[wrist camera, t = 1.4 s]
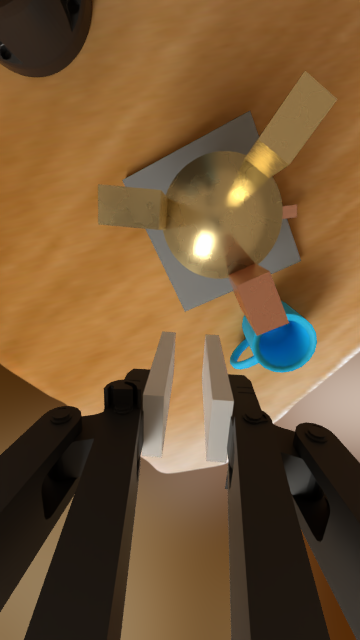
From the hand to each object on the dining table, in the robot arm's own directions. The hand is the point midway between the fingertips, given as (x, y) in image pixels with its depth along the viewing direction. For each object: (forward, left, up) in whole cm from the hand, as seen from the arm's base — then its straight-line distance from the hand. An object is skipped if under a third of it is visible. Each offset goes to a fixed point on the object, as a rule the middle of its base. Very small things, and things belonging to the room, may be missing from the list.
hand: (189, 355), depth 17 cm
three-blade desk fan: (-4, +6, -18) cm, 20 cm away
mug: (+12, +6, -28) cm, 31 cm away
